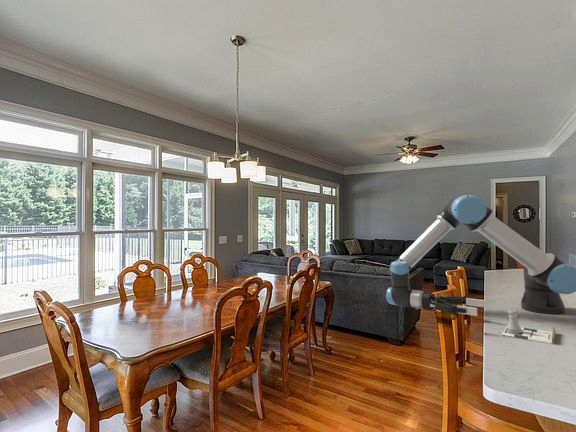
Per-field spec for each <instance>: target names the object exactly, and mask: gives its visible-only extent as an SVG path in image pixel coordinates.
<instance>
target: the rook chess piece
mask: <svg viewBox="0 0 576 432" xmlns="http://www.w3.org/2000/svg"><path fill="white" fill-rule="evenodd" d="M507 313H508V323H507V325H508V326H507V325H506V326H507V329H506V331H507V333H509V332H510V333H509V334H513V333H515V335H521V333H523V330H521V326H520V324H519V321H518V320H519V316H518V315H519V312H518V309H515V308H508V310H507Z"/></svg>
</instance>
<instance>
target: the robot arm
mask: <svg viewBox="0 0 576 432" xmlns="http://www.w3.org/2000/svg"><path fill="white" fill-rule="evenodd" d="M460 225H462V226H464V227H465V228H467V229H468V230H469V231H470V232H478V233H479V234H480V235H482V236H483V237H485V238H486V239H487V240H489V241H490V242H491V243H493V244H494V245H495V246H496V247H498V248H499V249H501V250H502V251H503V252H505V253H506V254H507V255H509V257H512V258H513V259H514V260H515V261H517V262H519V264H520V265H522V266H523V269H522V270H523V282H524V292H523V295H522V296H521V301H520V308H521V309H524V310H526V311H529V312H535V313H539V314H551V315H553V314H557V315H558V314H559V315H560V314H564V313H565V312H566V306H565V303H564V300H563V299H562V297H561V295H571V294H574V293H576V266H575V265H574V264H573V265H572V264H570V263H567V262H565V261H563V260H562V259H560V258H559V257H558V256H556V255H555V254H553V253H548V252H547V253H545V252H543V250H541V249H539V248H538V247H537V246H535V245H534V244H533V243H531V242H530V241H529V240H528V239H526V238H524V237H523V236H522V235H521V234H519V233H518V232H516V231H515V230H514V229H512V228H511V227H509V225H507V224H505V223H504V222H502V221H501V220H500V219H498V218H497V217H496V216H494V210H493V209H491V207H488V206H487V205H486V203H485V201H484V200H483V199H482V198H481V197H479V196H476V195H473V194H464V195H461V196H457V197H455V198H452V199H451V200H449V201H448V203H447V204H446V205H445V206H444V207H443V208H442V210H441V211H440V212H439V213H437V215H436V220H434V221H433V222H432V224H430V225H429V226H428V227H427V228H426V230H425V231H424V232H422V233H421V235H419V236H418V238H417V239H415V241H413V243H412V244H411V245H409V246H408V248H406V250H404V252H402V254H401V255H400V256H399V257H398V258H397V259H396V260H394V261H391V263H390V265H389V267H388V268H389V270H388V271H389V274H390V277H391V280H390V281H391V287H388V288H387V290H386V293H385V298H386V301H387V303H388V304H390V305H395V306H398V307H405V308H412V309H413V308H415V310H419V309H421V310H422V309H423V310H426V311H433V310H437V311H441V312H443V313H447V314H450V315H453V316H457V314H461V315H468V316H475V317H477V316H478V308H479V307H480V308H486V304H485V303H486V302H485V299H477V298H468V297H467V296H466V295H463V296H458V295H457V296H454V295H452V296H451V295H446V296H445V295H439V296H438V297H436V294H435V293H434V291H423V290H419V289H418V290H416V289H410V271H411V270H412V268H413V267H414V266H415V265H416V264H417V263H418V262H419V261H421V260H422V259H423V257H424V256H425V255H427V253H429V251H431V250H432V249H433V248H434V246H436V245H437V244H438V243H439V242H440V240H441V239H443V238H444V237H445V236H446V235H447V234H448V233H449V232H450V231H452V230H455V229H456V228H457V227H459V226H460ZM432 293H433V294H432ZM431 294H432V295H431ZM431 299H432V301H431ZM432 302H433V303H432ZM433 305H434V306H433ZM465 305H466V306H465ZM434 308H435V309H434Z"/></svg>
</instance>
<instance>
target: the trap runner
mask: <svg viewBox="0 0 576 432" xmlns="http://www.w3.org/2000/svg"><path fill="white" fill-rule="evenodd" d="M507 326H508V324H507V325H506V326H505V328H504V330H503V332H502V334H501V336H502V335H505V336H504V337H508V336H511V337H510V338H514V337H516V338H515V339H520V338H521V339H522V340H527V341H532V342H533V341H534V342H538V343H539V342H540V343H546V344H552V345H555V340H556V327H552V331H548V330H541V329H534V328H528V327H521V326H520V327H521V331H522V334H513V333H509V332H506V331H507Z"/></svg>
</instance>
